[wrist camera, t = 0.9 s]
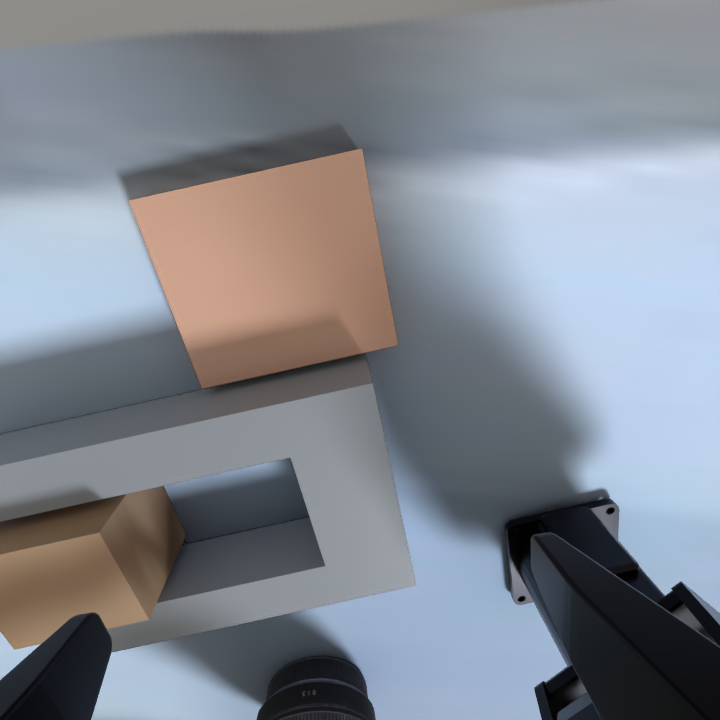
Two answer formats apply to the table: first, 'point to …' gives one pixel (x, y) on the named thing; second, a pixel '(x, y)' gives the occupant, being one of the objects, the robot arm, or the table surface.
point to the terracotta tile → (271, 267)
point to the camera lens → (317, 692)
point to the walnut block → (86, 564)
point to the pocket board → (226, 453)
